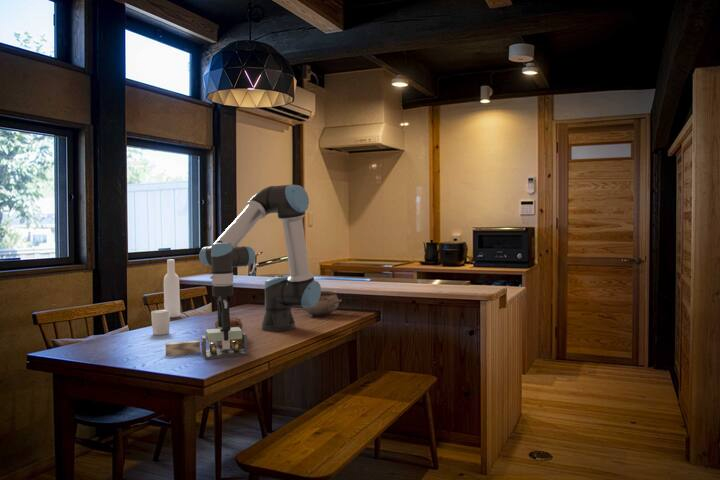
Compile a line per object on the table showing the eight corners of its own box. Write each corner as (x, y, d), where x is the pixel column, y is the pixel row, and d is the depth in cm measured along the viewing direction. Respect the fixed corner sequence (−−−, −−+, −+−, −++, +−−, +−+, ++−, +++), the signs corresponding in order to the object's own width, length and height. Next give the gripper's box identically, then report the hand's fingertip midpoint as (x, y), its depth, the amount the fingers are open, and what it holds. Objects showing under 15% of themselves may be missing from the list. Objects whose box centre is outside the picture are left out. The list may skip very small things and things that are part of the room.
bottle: (171, 318, 300) (170, 260, 299) (161, 317, 304) (159, 259, 303) (183, 315, 307) (181, 259, 306) (173, 314, 311) (171, 258, 310)
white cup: (164, 335, 252) (163, 312, 252) (148, 335, 254) (147, 312, 253) (173, 332, 260) (173, 309, 260) (157, 331, 261) (157, 309, 261)
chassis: (243, 348, 221) (242, 330, 221) (248, 355, 210) (248, 336, 210) (200, 352, 216) (200, 334, 216) (204, 359, 205) (203, 339, 204)
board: (238, 334, 219) (238, 326, 219) (242, 338, 211) (242, 330, 211) (205, 337, 215) (205, 329, 214) (208, 341, 207) (208, 333, 207)
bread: (243, 345, 228) (242, 320, 227) (215, 347, 225) (214, 322, 225) (241, 337, 246) (240, 313, 246) (215, 338, 243) (214, 315, 243)
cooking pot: (289, 317, 296) (289, 293, 295) (310, 311, 312) (310, 289, 312) (331, 320, 283) (331, 295, 283) (350, 314, 300) (350, 290, 300)
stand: (199, 350, 220) (198, 340, 219) (200, 352, 217) (199, 341, 217) (165, 354, 215) (165, 343, 215) (166, 355, 212) (165, 344, 212)
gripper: (208, 282, 221) (210, 342, 221) (215, 288, 201) (217, 353, 202) (228, 281, 223) (230, 340, 224) (237, 287, 204) (239, 351, 205)
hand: (224, 346), depth 213 cm, fingers closed on board, 8 cm apart
